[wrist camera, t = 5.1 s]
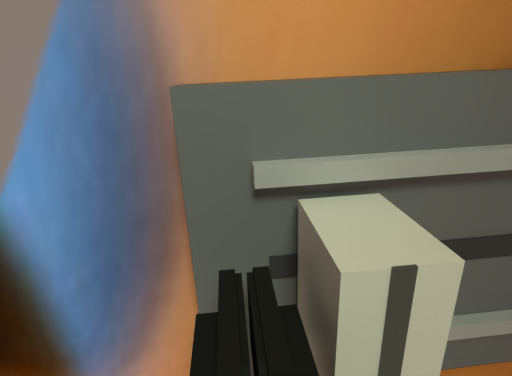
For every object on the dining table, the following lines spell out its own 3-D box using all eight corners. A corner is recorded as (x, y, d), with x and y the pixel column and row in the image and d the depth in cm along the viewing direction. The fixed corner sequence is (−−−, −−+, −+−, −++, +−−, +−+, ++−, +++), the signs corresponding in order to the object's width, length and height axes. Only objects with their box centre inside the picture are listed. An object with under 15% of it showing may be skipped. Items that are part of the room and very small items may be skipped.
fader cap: (298, 199, 11) (342, 273, 7) (379, 192, 12) (467, 262, 7) (297, 330, 13) (331, 447, 9) (365, 322, 14) (428, 433, 10)
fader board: (177, 84, 12) (166, 88, 9) (819, 53, 14) (944, 50, 12) (211, 362, 17) (210, 411, 14) (682, 307, 19) (749, 342, 17)
